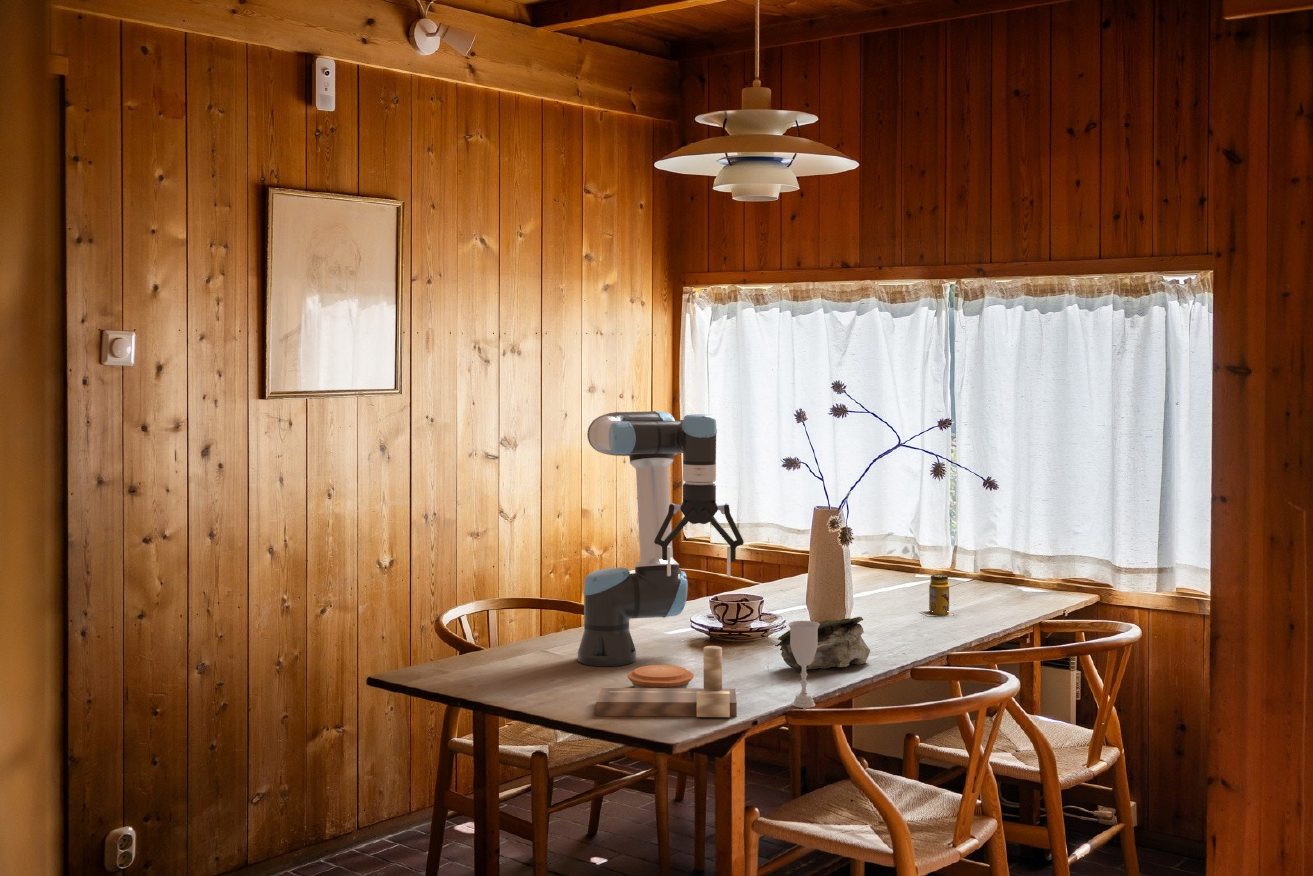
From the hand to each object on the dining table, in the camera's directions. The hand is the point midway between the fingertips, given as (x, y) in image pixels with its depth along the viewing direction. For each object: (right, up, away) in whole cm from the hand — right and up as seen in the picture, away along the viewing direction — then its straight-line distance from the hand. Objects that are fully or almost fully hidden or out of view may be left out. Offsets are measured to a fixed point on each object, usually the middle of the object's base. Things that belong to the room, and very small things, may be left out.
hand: (698, 575), depth 275 cm
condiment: (+77, -23, +98) cm, 127 cm away
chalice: (+23, -28, -8) cm, 37 cm away
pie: (-9, -28, +6) cm, 30 cm away
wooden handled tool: (+3, -28, -14) cm, 31 cm away
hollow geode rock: (+32, -27, +28) cm, 50 cm away
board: (-7, -28, -11) cm, 31 cm away
